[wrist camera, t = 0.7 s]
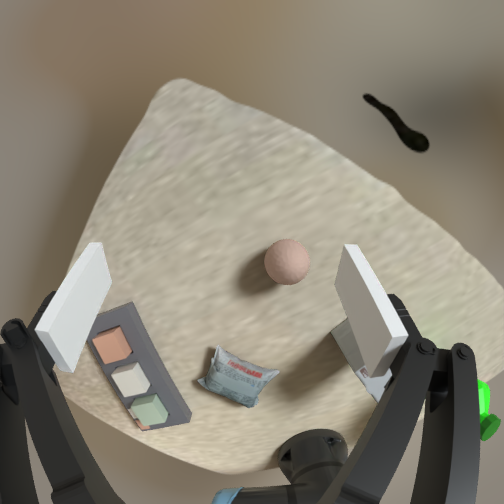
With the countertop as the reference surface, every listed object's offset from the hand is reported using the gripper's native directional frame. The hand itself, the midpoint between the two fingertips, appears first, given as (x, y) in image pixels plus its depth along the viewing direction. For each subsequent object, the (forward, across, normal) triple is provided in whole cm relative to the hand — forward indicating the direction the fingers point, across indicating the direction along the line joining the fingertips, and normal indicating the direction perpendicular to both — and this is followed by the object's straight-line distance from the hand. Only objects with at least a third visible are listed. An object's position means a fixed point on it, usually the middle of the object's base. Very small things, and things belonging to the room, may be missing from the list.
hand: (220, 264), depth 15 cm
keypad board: (+18, +17, +37) cm, 44 cm away
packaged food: (+18, -2, +36) cm, 40 cm away
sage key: (+13, +15, +42) cm, 46 cm away
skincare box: (+20, -22, +30) cm, 42 cm away
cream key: (+16, +17, +36) cm, 43 cm away
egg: (+27, -9, +18) cm, 33 cm away
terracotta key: (+19, +20, +30) cm, 41 cm away
